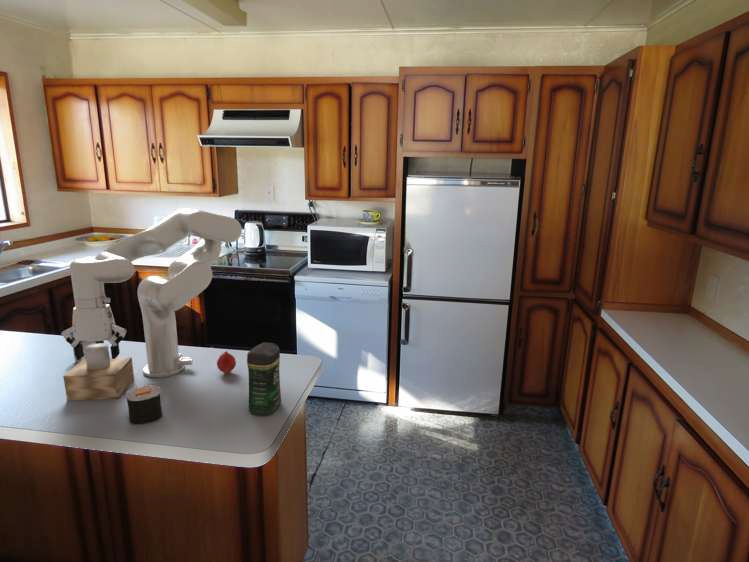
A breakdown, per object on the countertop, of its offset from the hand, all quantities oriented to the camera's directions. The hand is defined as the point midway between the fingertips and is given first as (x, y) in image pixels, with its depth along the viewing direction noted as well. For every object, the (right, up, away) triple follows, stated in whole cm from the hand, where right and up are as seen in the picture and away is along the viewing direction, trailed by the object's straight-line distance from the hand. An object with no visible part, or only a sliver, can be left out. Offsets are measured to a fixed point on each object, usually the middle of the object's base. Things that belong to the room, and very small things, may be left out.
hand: (97, 357), depth 137 cm
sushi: (+20, -14, -11) cm, 27 cm away
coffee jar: (+51, -13, -6) cm, 53 cm away
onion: (+33, -8, +15) cm, 37 cm away
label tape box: (-17, -4, +25) cm, 31 cm away
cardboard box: (0, -10, +2) cm, 10 cm away
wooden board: (0, -3, +1) cm, 3 cm away
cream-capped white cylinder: (0, -3, +1) cm, 3 cm away
